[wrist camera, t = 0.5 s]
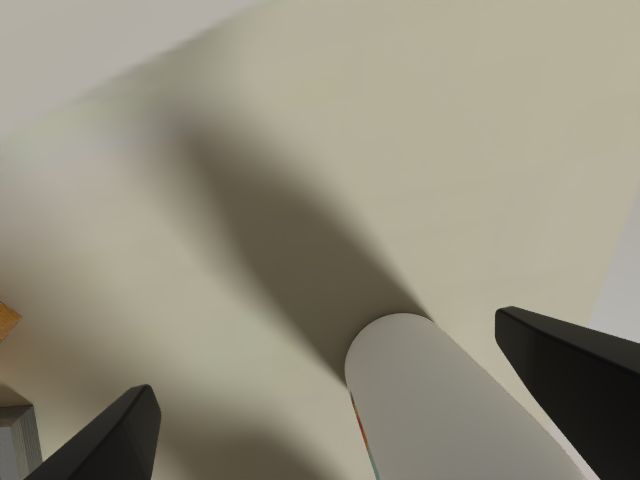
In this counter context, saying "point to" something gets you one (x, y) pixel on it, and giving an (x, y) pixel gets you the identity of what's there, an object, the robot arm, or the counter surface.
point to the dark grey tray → (18, 442)
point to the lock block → (7, 320)
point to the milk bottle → (441, 410)
